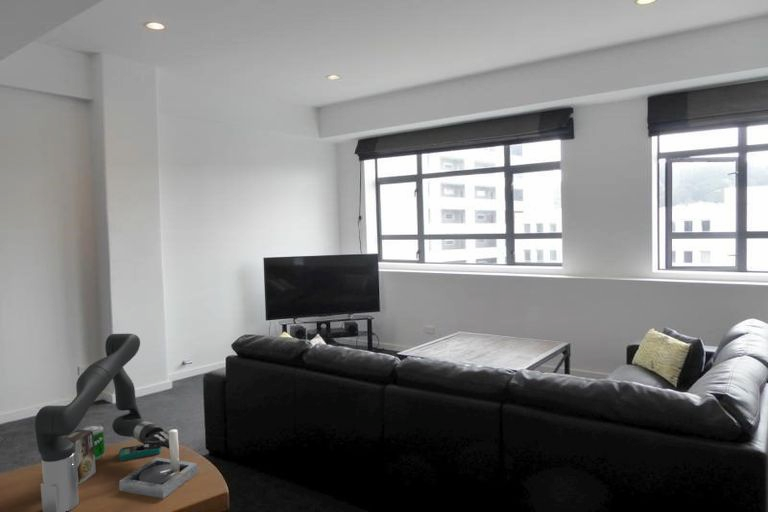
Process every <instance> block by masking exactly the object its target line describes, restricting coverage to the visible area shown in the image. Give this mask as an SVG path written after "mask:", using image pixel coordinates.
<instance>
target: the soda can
mask: <svg viewBox="0 0 768 512" xmlns="http://www.w3.org/2000/svg"><path fill="white" fill-rule="evenodd" d="M82 430H90V431H93V441H94V452H95V462H97V461H98V460H101V459H102V458H103V457H104V456H105V454H106V449H105V435H104V427H102V426H101V425H100V424H92V425H88V426H86V427H84V428H83V429H82Z"/></svg>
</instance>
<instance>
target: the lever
mask: <svg viewBox="0 0 768 512" xmlns="http://www.w3.org/2000/svg"><path fill="white" fill-rule="evenodd" d="M168 433H169V449H168V450H169V459H170V464H163V465H157V466H154V467H151V468H148V469H146V470H145V471H143V472H142V473H141V474H140V476H139V481H143V482H149V483H155V484H161V485H163V484H164V483H165V482H167V481H168V480H169V479H171V478H172V477H174V476H175V475H176V474H178V473H179V469H180V464H179V461H180V452H179V450H180V449H179V432H178V429H175V428H173V429H170V430H169V431H168Z"/></svg>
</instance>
